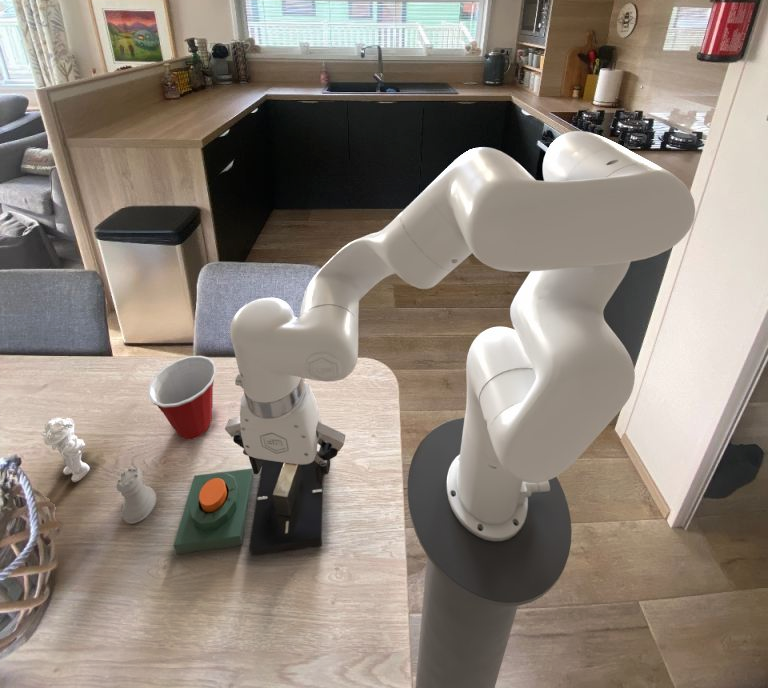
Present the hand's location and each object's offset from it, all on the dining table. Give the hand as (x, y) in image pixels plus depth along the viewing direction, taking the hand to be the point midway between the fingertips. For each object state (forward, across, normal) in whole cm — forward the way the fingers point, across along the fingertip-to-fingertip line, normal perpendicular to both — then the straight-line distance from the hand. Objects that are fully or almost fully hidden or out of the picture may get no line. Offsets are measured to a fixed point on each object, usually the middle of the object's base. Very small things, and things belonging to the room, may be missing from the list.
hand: (291, 468), depth 57 cm
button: (+5, -12, -3) cm, 13 cm away
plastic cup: (+8, -23, +9) cm, 26 cm away
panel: (+8, -1, 0) cm, 9 cm away
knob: (+6, -1, 0) cm, 7 cm away
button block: (+8, -12, -3) cm, 15 cm away
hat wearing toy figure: (+7, -38, -1) cm, 39 cm away
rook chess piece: (+8, -24, -4) cm, 25 cm away
